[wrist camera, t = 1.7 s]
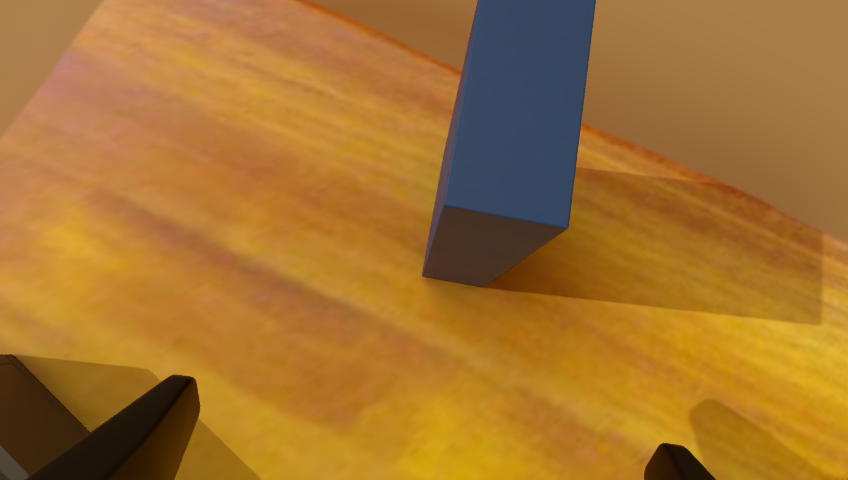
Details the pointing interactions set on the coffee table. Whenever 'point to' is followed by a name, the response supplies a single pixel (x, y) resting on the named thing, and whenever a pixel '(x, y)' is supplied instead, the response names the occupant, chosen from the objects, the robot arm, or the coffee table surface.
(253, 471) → the coffee table surface
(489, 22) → the blue block
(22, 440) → the dark open-top box
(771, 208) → the coffee table surface
